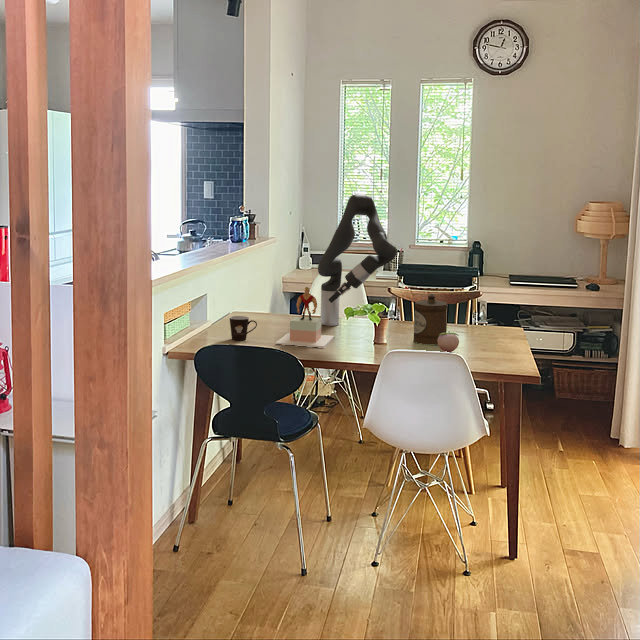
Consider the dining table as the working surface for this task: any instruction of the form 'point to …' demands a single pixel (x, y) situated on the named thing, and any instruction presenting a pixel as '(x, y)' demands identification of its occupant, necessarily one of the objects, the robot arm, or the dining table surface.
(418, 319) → the wooden container
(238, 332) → the coffee mug
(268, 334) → the dining table surface
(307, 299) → the action figure
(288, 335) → the two-tone green pink block
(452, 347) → the decorative fruit
